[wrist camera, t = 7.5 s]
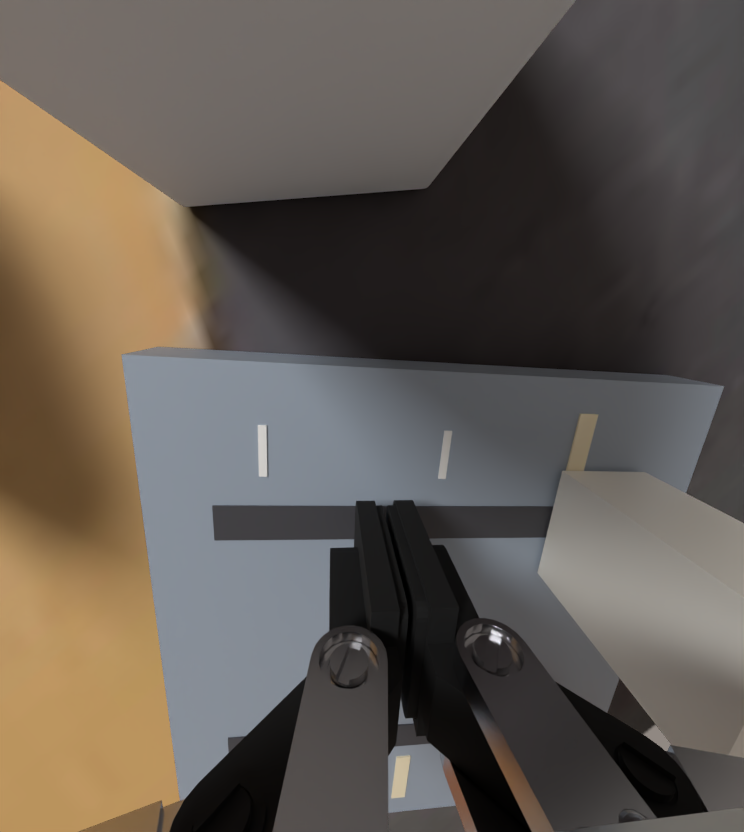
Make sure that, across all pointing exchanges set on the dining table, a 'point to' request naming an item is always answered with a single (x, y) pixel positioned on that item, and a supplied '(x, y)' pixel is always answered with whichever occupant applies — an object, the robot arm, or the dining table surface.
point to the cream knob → (656, 598)
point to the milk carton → (272, 86)
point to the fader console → (366, 481)
